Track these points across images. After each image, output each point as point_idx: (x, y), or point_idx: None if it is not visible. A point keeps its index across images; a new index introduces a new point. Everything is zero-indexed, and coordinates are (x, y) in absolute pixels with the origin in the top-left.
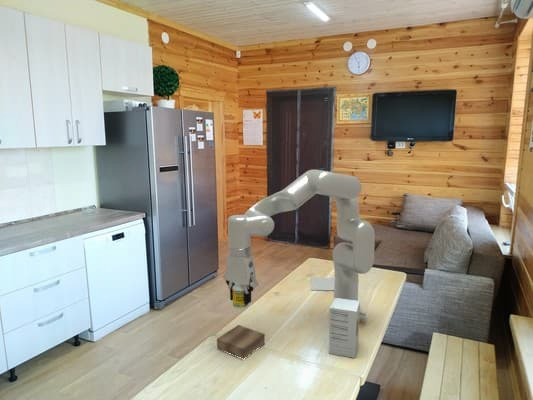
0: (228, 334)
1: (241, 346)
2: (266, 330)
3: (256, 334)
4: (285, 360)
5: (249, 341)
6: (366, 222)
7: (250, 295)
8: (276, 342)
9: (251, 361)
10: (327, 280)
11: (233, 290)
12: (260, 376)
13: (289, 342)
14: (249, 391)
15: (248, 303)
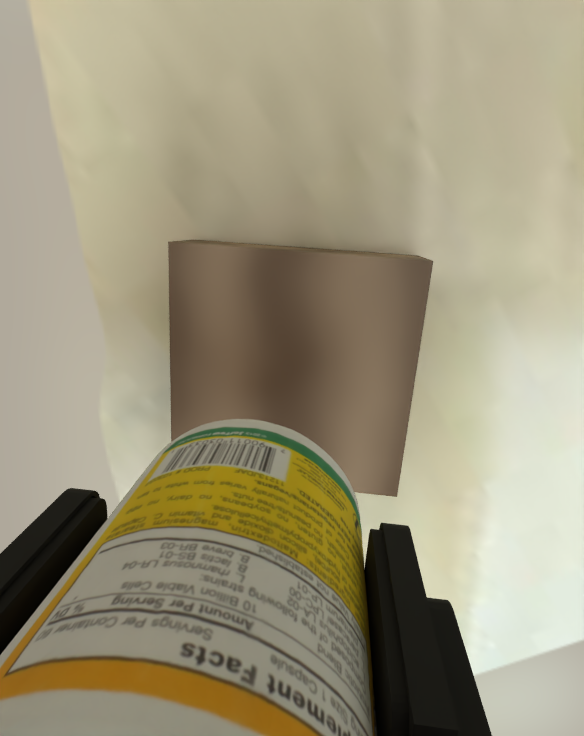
0: (198, 396)
1: (366, 478)
2: (334, 63)
3: (377, 299)
4: None
5: (382, 406)
6: None
7: (474, 720)
8: (485, 188)
9: (432, 450)
10: None
11: None
12: (538, 533)
13: (580, 134)
14: (535, 633)
15: (354, 502)
